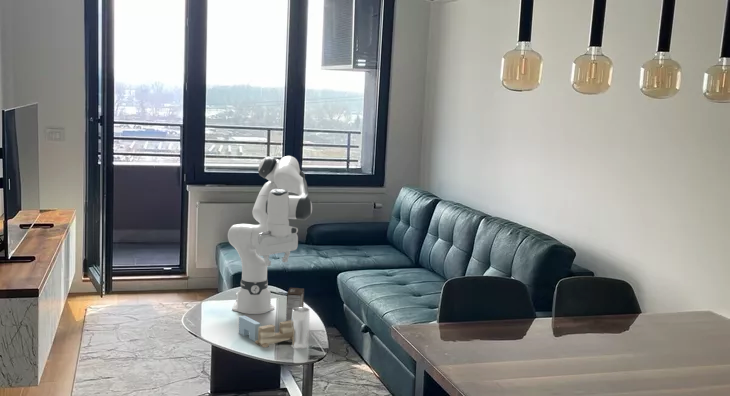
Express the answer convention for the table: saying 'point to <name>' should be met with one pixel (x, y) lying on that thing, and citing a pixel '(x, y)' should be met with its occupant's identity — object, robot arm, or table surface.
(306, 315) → the beer glass
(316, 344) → the table surface
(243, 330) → the notched blue-grey block
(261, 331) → the birch rail
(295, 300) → the coffee box
